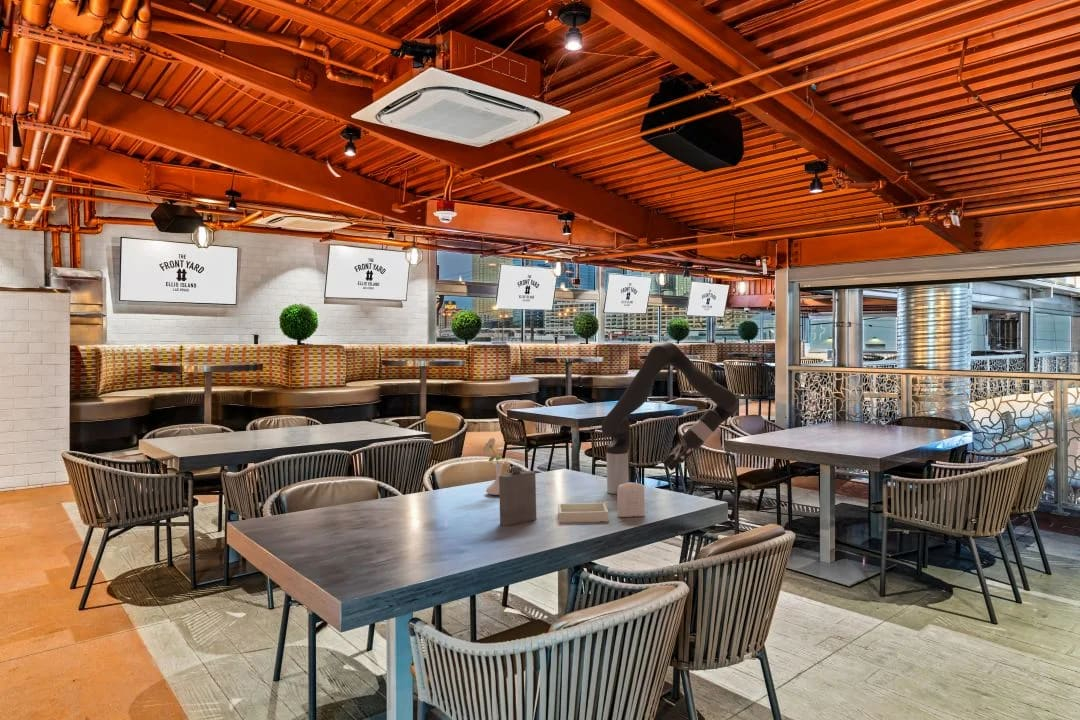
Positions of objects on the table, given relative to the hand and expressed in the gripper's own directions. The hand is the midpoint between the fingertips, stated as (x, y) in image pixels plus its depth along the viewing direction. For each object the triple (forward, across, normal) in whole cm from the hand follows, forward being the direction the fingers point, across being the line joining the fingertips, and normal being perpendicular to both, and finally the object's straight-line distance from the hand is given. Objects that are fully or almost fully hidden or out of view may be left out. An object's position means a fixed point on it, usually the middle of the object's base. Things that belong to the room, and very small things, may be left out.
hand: (667, 466), depth 243 cm
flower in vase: (+59, -41, -34) cm, 80 cm away
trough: (+35, 0, -10) cm, 36 cm away
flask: (+52, +4, -27) cm, 59 cm away
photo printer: (+23, 0, +3) cm, 23 cm away
